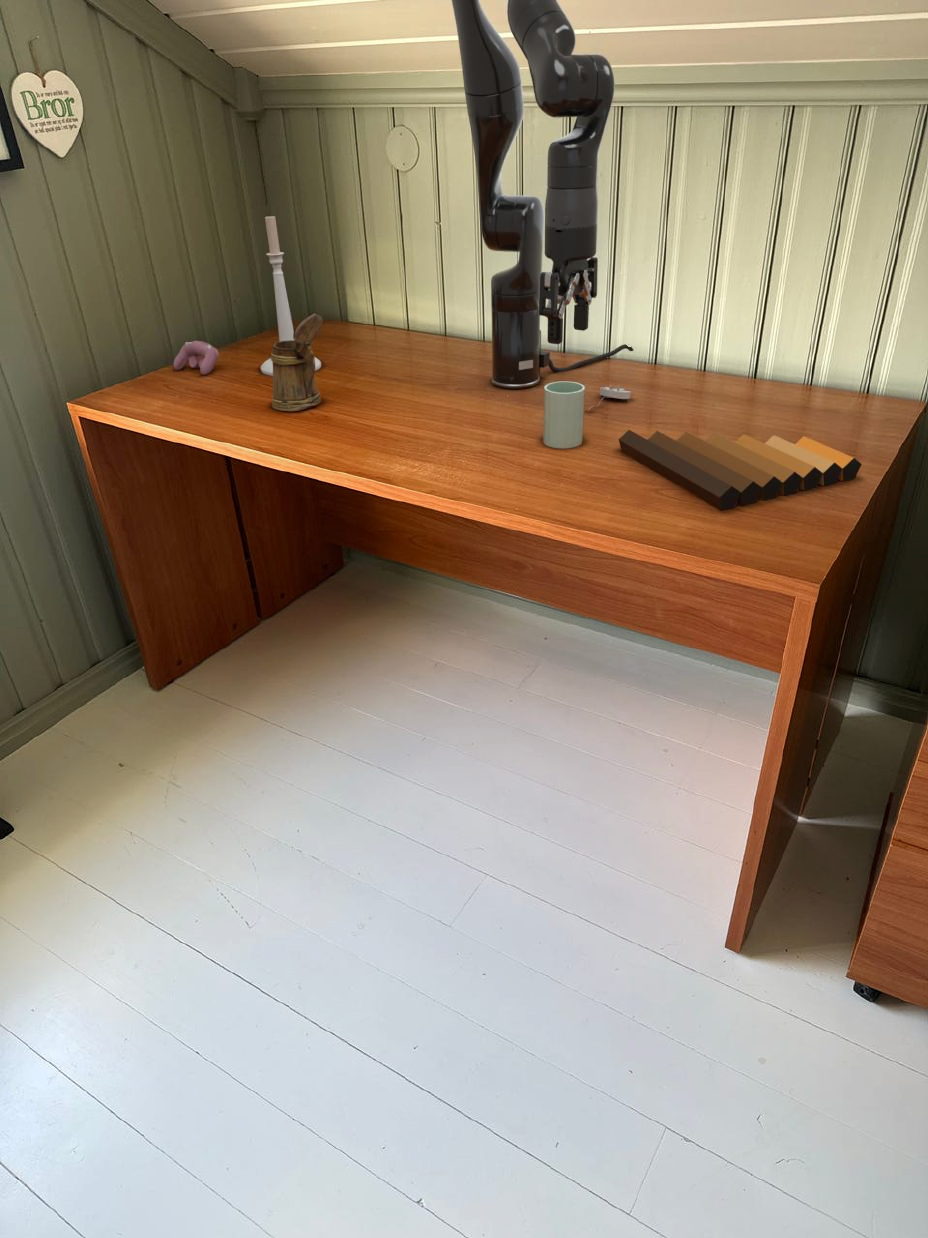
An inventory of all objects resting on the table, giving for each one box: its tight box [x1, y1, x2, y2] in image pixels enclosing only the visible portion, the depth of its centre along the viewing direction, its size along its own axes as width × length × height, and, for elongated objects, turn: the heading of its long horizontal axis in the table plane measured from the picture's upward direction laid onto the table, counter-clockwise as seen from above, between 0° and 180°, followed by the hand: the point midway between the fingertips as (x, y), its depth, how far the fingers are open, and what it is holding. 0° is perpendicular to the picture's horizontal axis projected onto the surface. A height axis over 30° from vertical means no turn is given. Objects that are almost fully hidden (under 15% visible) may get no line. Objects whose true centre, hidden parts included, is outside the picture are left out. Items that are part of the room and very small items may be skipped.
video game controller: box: [172, 340, 220, 376], centre depth 180 cm, size 10×5×7 cm, turn 58°
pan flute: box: [618, 429, 862, 512], centre depth 127 cm, size 25×3×25 cm
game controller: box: [587, 384, 632, 413], centre depth 153 cm, size 6×12×3 cm, turn 158°
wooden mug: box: [270, 311, 324, 412], centre depth 153 cm, size 9×14×18 cm, turn 47°
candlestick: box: [260, 214, 322, 377], centre depth 173 cm, size 13×13×30 cm
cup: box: [542, 380, 586, 449], centre depth 136 cm, size 6×6×9 cm
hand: (568, 336), depth 130 cm, fingers open, 8 cm apart
